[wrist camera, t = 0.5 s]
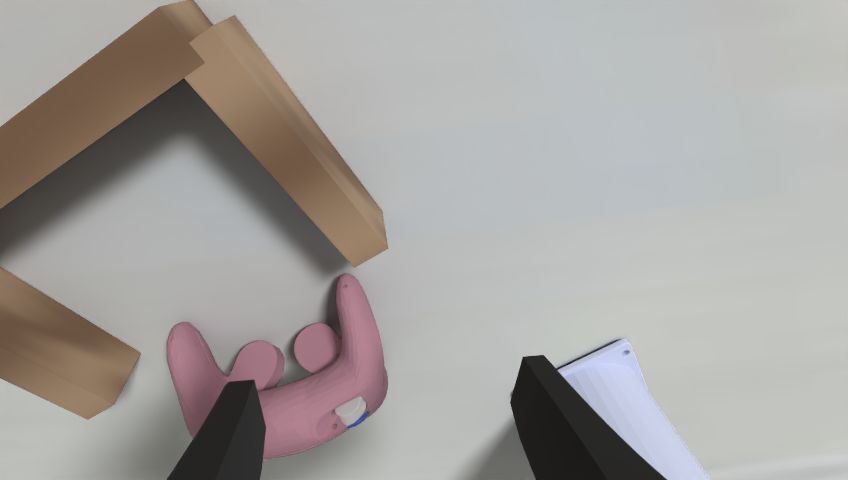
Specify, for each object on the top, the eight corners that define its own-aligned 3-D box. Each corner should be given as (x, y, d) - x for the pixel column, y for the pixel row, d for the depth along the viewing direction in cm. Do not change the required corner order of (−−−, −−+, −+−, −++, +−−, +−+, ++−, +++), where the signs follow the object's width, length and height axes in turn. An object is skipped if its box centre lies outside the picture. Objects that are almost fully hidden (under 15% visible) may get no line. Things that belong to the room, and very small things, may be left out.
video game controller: (212, 344, 24) (214, 481, 20) (156, 321, 20) (146, 488, 16) (378, 294, 24) (407, 424, 20) (355, 262, 20) (386, 416, 16)
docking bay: (382, 211, 19) (388, 248, 16) (117, 366, 21) (87, 419, 19) (211, -16, 13) (181, -11, 11) (-119, 231, 16) (-204, 281, 13)
